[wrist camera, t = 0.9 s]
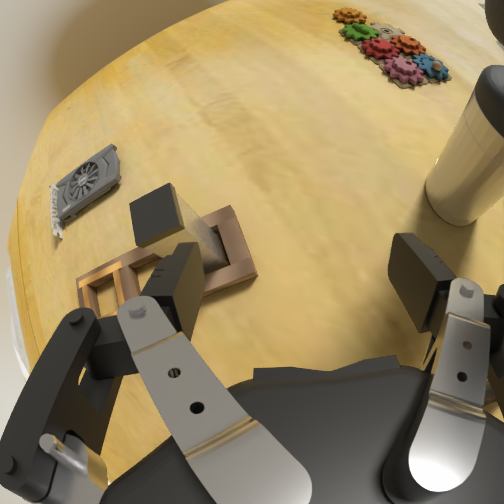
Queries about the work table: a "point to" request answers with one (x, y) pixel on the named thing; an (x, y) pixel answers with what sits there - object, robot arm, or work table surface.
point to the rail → (127, 263)
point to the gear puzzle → (392, 50)
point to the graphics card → (84, 186)
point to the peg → (174, 227)
